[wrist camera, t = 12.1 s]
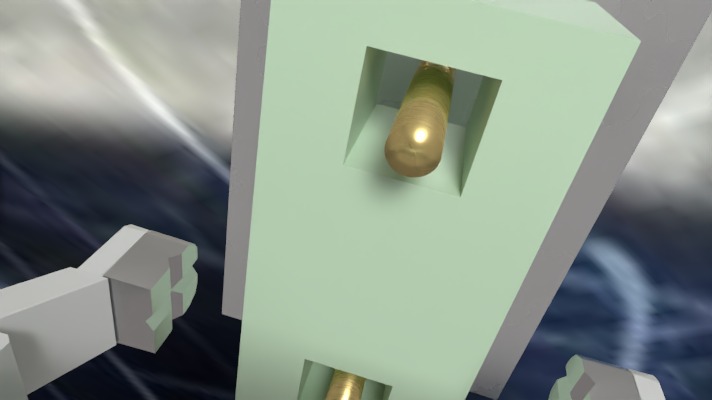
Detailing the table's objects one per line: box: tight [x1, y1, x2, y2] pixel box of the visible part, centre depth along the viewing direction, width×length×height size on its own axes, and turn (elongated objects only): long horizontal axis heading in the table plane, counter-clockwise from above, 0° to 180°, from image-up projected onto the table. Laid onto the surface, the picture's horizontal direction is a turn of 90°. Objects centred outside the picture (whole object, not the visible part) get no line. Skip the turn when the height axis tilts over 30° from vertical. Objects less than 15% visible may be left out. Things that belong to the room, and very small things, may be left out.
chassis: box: [222, 0, 712, 400], centre depth 15 cm, size 22×14×10 cm, turn 168°
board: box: [235, 0, 641, 400], centre depth 14 cm, size 14×6×4 cm, turn 169°
